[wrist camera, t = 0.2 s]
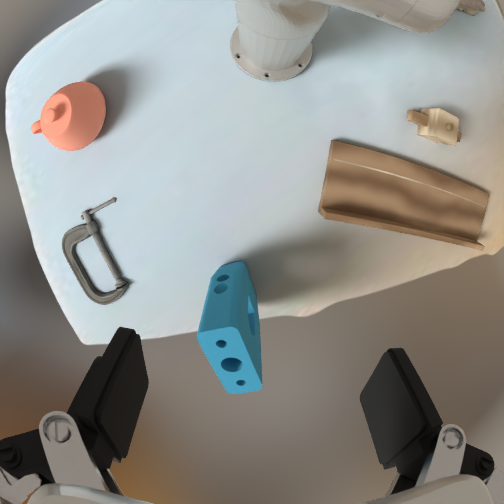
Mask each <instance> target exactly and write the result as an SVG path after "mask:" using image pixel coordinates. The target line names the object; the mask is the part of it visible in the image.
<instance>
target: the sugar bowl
mask: <svg viewBox="0 0 504 504" xmlns="http://www.w3.org/2000/svg"><path fill="white" fill-rule="evenodd" d="M105 114H106V104H105V99H104V96H103V94H102V92H101V91H100V89H99V88H98V87H97V86H96V85H94V84H92V83H88V82H76V83H72V84H69V85H67V86H64V87H63V88H61V89H60V90H58V91H57V92H56V93H54V94H53V95H52V96H51V97H50V98H49V100H48V101H47V102H46V104H45V105H44V107H43V110H42V113H41V118H40V120H39V121H37V122H35V123H34V124H33V125H32V127H31V130H32V133H34V134H36V133H41V132H43V134H44V136H45V137H46V138H47V140H48V141H49V142H50V143H51V144H52V145H54V146H55V147H57V148H59V149H62V150H67V151H74V150H80V149H82V148H84V147H86V146H88V145H89V144H90V143H91V142H92V141H93V140H94V139H95V138H96V137H97V135H98V134H99V132H100V130H101V128H102V126H103V123H104V120H105Z"/></svg>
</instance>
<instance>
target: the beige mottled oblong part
mask: <svg viewBox="0 0 504 504" xmlns="http://www.w3.org/2000/svg"><path fill="white" fill-rule="evenodd" d="M456 9H458V10H460V11H462V10H463V9H464V11H466V13H468V14H470V15H473V16H474V15H475V14H477V13H478V12H479V11H484V10H485V6H484V3H483V1H482V0H460V1H459V3H458V5H457V7H456Z"/></svg>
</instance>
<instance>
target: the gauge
mask: <svg viewBox="0 0 504 504" xmlns="http://www.w3.org/2000/svg"><path fill="white" fill-rule="evenodd" d="M406 120H408V121H410V122H413V123H415V124H418V131H417V135H420V136H422V137H425V138H427V139H429V140H432V141H434V142H436V143H442V144H449V145H455V146H456V143H457V142H460V138H461V133H460V132H458V128H459V118H457V117H455V116H453V115H451V114H450V113H448V112H446V111H444V110H442V109H440V108H431V109H420V113H419V112H416V111H414V110H408V111H407V119H406Z"/></svg>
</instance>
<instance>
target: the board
mask: <svg viewBox="0 0 504 504" xmlns="http://www.w3.org/2000/svg"><path fill="white" fill-rule="evenodd" d="M488 199H489V194H487V193H485V192H483V191H481V190H479V189H477V188H475V187H472V186H470V185H468V184H466V183H463V182H461V181H459V180H456V179H454V178H452V177H449V176H447V175H444V174H442V173H439V172H437V171H434V170H431V169H429V168H426V167H423V166H420V165H417V164H415V163H412V162H409V161H406V160H403V159H400V158H397V157H393V156H390V155H387V154H384V153H380V152H377V151H373V150H370V149H366V148H362V147H359V146H355V145H351V144H347V143H343V142H339V141H334V140H331V145H330V151H329V157H328V163H327V168H326V174H325V179H324V184H323V190H322V195H321V200H320V205H319V210H318V211H319V213H320V214H321V215H322V216H323V217H324V218H325V219H328V220H334V221H340V222H346V223H352V224H358V225H364V226H369V227H375V228H380V229H385V230H391V231H396V232H401V233H406V234H411V235H416V236H421V237H425V238H430V239H435V240H439V241H444V242H448V243H453V244H457V245H462V246H466V247H470V248H474V249H478V250H482V251H483V250H484V247H485V246H483V245H482V244H480V243H479V242H477V238H478V235H479V232H480V229H481V226H482V222H483V219H484V215H485V211H486V207H487V203H488Z"/></svg>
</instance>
